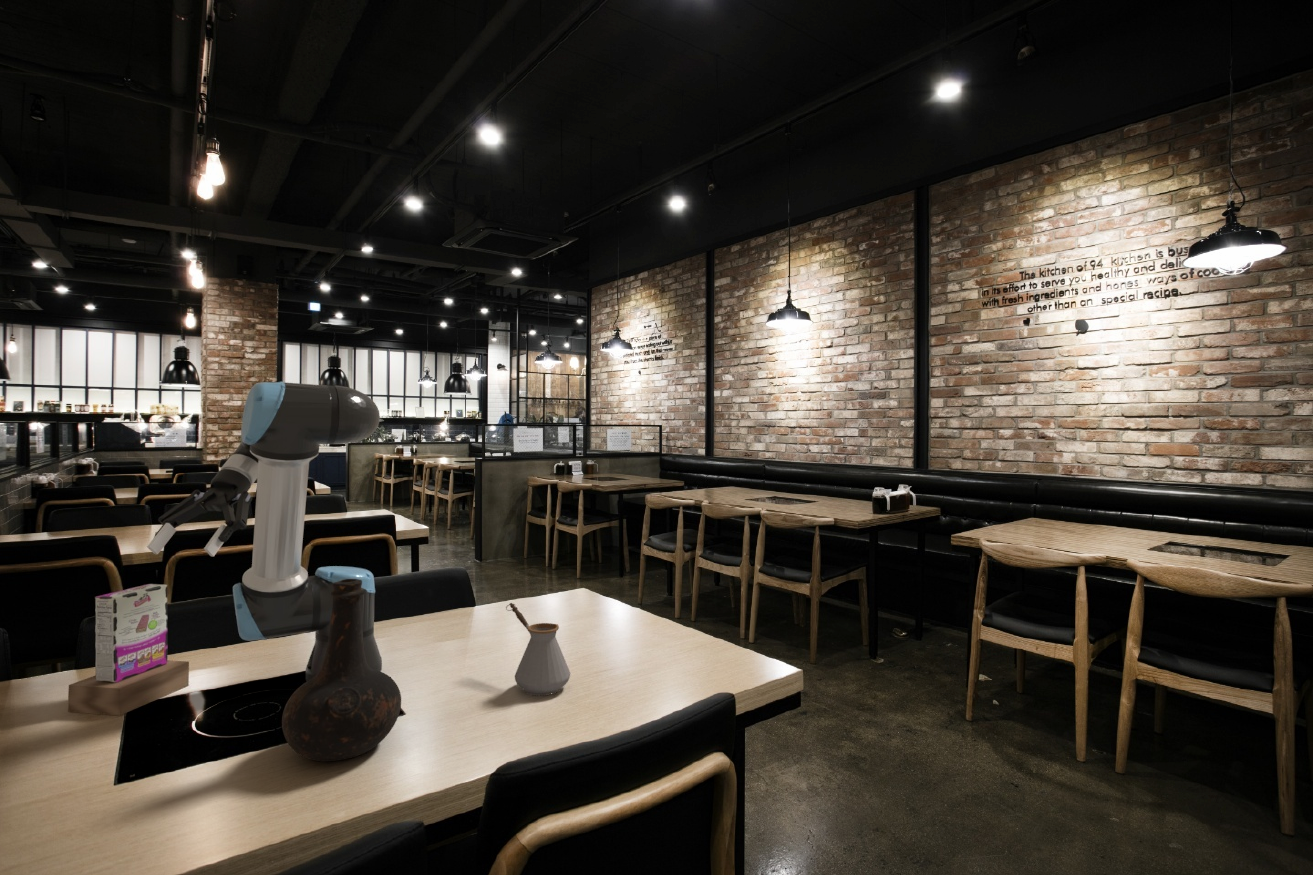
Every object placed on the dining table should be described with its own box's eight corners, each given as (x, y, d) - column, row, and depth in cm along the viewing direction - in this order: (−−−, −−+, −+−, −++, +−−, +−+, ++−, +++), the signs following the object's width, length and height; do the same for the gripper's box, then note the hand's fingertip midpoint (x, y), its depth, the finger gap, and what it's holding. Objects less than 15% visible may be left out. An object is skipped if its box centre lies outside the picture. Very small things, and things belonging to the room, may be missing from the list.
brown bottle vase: (274, 785, 96) (276, 597, 96) (288, 735, 112) (291, 574, 113) (402, 763, 103) (405, 587, 103) (399, 718, 119) (401, 567, 120)
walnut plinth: (188, 685, 135) (188, 661, 135) (119, 715, 120) (120, 688, 120) (142, 682, 136) (142, 658, 136) (68, 711, 121) (68, 684, 121)
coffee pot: (580, 690, 134) (581, 618, 134) (530, 704, 127) (531, 627, 127) (531, 662, 150) (532, 598, 151) (485, 673, 143) (486, 605, 143)
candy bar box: (147, 662, 134) (148, 583, 134) (168, 663, 133) (169, 584, 133) (92, 681, 123) (93, 595, 123) (114, 683, 122) (116, 596, 122)
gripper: (291, 489, 155) (242, 563, 140) (198, 487, 158) (140, 559, 143) (275, 468, 149) (223, 542, 134) (179, 466, 153) (117, 539, 138)
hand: (180, 551), depth 139 cm, fingers open, 13 cm apart
